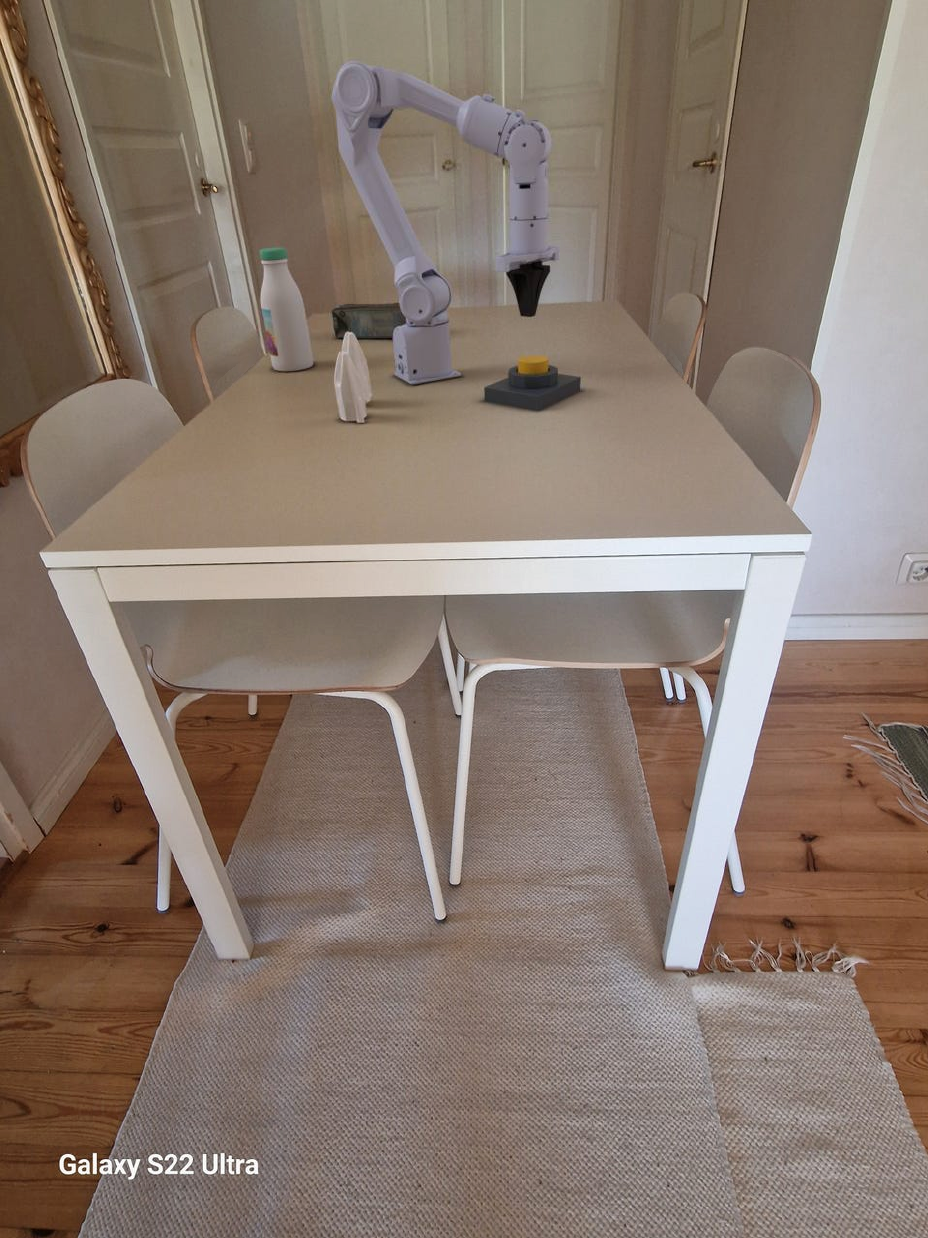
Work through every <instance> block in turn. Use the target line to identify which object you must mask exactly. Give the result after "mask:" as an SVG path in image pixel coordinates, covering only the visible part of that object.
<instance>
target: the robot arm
mask: <svg viewBox="0 0 928 1238" xmlns="http://www.w3.org/2000/svg"><path fill="white" fill-rule="evenodd" d="M330 98H331V102H332V104H333V107H334V109H335V115H336V126H337V127H336V128H337V129H336V131H337V142H338V143H337V144H338V151H339V155H340V156H341V159H342V161H343V163H344V165H345V168H346V169H347V171H348V173H349V175H350V177H351V180H352V181H353V184H354V186H355V188H356V190H357V192H358V194H359V196H360V199H361V200H362V203H363V205H364V207H365V209H366V211H367V213H368V215H369V217H370V220H371V222H372V224H373V226H374V229H375V230H376V232H377V234H378V237H379V239H380V241H381V242H382V245H383V247H384V249H385V251H386V253H387V255H388V257H389V260H390V262H391V263H392V266H393V268H394V278H393V279H394V280H393V282H394V286H395V288H396V291H397V293H398V303H399V304H400V309H401V311H402V313H403V315H404V316H405V317H406V322H407V323H406V324H405V325H403V326H398V327H396V328H395V329H394V331H393V338H392V345H393V356H394V364H395V365H394V368H395V372H394V376H396V377H397V378H399V379H400V380H403V381H404V382H406V383H408V384H410V385H418V384H425V383H429V382H435V381H441V380H447V379H453V378H457V377H461V376H462V373H461V372H459V371H457V370H455V369H453V368H452V367H453V366H452V349H451V347H452V346H451V333H450V331H451V330H450V316H449V314H448V313H447V310H448V308H450V307H449V306H450V305H451V303H452V299H453V292H452V287H451V285H450V282H449V281H448V280H447V279H446V278H445V277H444V276H443V275H441V273H440V272H439V271H438V269H437V268H436V265H435V263H434V261H432V260H431V259H430V258H429V257H428V256H427V255H426V253H424V250H423V248H422V245H421V244H420V242H419V240H418V237H417V235H416V233H415V231H414V228H413V227H412V225H411V222H410V220H409V218H408V216H407V213H406V211H405V209H404V207H403V205H402V203H401V200H400V198H399V196H398V194H397V192H396V189H395V187H394V185H393V183H392V181H391V178H390V176H389V174H388V171H387V170H386V168H385V165H384V163H383V160H382V159H381V156H380V154H379V152H378V146H379V144H380V139H381V137H382V133H383V130H384V128H385V127H386V125H387V123H388V122H389V120H390V119H391V117H392V116H393V114H394V112H395V111H404V110H406V109H409V108H411V109H413V110H416V111H418V112H421V113H423V114H426V115H428V116H430V117H432V118H435V119H438V120H440V121H442V122H445V123H447V124H450V125H452V126H455V127H456V128H457V130H458V132H459V136H460V138H461V140H462V141H463V142H464V143H466V144H468V145H470V146H473V147H474V148H477V149H479V150H482V151H483V152H486V153H488V154H490V155H491V156H492V155H493V156H494V157H497V158H498V159H505V158H506V160H507V163H509V184H508V188H509V190H508V191H509V193H508V194H509V197H508V198H509V199H508V201H509V203H508V204H509V206H508V207H509V251H508V252H507V253H504V254H502V255H499V256H496V257H494V270H495V271H494V272H496V273H505V274H506V276H507V278H508V280H509V282H510V284H511V286H512V289H513V292H514V295H515V298H516V303H517V307H518V311H519V315H520V317H524V318H525V317H526V318H533V317H535V316H536V314H537V310H538V307H539V306H538V305H539V302H540V297H541V293H542V290H543V287H544V285H545V282H546V280H547V278H548V276H549V275H550V273H551V265H549V264H543V263H546V262H552V261H553V262H554V261H555V262H556V261H559V260H560V246H557V245H556V246H552V245H548V221H549V220H548V218H549V217H548V215H549V214H548V213H549V208H548V207H549V181H548V174H549V168H548V167H549V165H548V164H549V163H548V161H547V160H548V159H549V158H550V156H551V153H552V149H553V148H552V147H553V138H552V135H551V133H550V130H549V129H548V128H547V126H546V125H544V124H543V123H542V122H540V120H538V119H526V120H525V114H526V113H525V112H524V111H523V110H521V109H517V110H516V111H513V110H512V109H509V108H506V107H505V106H502V105H500V104H498V103H496V102H495V96H492V95H491V94H489V93H483V96H481V95H478V94H476V95H474V96H471V98H468V99H467V100H465V101H464V100H463V99H460V98H458V97H456V96H454V95H452V94H450V93H448V92H446V91H444V90H442V89H440V88H438V87H436V86H434V85H432V84H430V83H428V82H427V81H424V80H422V79H420V78H418V77H416V76H415V75H412V74H409V73H406V72H401V71H396V70H392V69H388V68H385V67H382V66H378V65H377V66H374V65H368V64H366V63H364V62H362V61H358V60H351V61H348V62H346V63H345V64H343V65H342V66H341V67H340V69H339V70H338V72H337V75H336V78H335V82H334V85H333V89H332V93H331V97H330Z"/></svg>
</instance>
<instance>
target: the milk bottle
mask: <svg viewBox="0 0 928 1238" xmlns="http://www.w3.org/2000/svg"><path fill="white" fill-rule="evenodd" d="M258 254H259V257H260V261H261V265H262V266H263V279H262V284H261V289H260V298H259V299H260V308H261V314H262V320H263V325H264V330H265V336H266V340H267V346H268V351H269V356H270V361H271V366H272V368H273V370H275V371H279V372H296V371H302V370H305V369H308V368H311V367H313V365H314V357H313V350H312V343H311V338H310V331H309V325H308V320H307V315H306V308H305V304H304V300H303V296H302V293H301V291H300V289H299V287H298V285H297V283H296V282H295V280H294V278H293V276H292V274H291V271H290V270H289V265H288V262H289V260H288V255H287V249H286V248H285V247H268V248H262V249H260V250H259V253H258Z"/></svg>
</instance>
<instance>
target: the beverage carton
mask: <svg viewBox="0 0 928 1238" xmlns="http://www.w3.org/2000/svg"><path fill="white" fill-rule="evenodd" d="M330 312H331V313H330V314H331V318H332V327H333V331H334V337H335V338H336V339H344V336H345V333H346V332H352V333H353V334H354V335H355V337H356V339H393V331H394V329H395V328H396V327H398V326H403V325H405V324H406V323H407V322H406V317H405V316H404V315H403V313H402V311H401V309H400V304H399V302H393V303H389V302H388V303H345V304H338V305H336V306H335V307H334V308H333V309H332V310H331V311H330Z"/></svg>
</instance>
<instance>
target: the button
mask: <svg viewBox="0 0 928 1238" xmlns="http://www.w3.org/2000/svg"><path fill="white" fill-rule="evenodd" d="M548 365H549V357H548V356H544V355H537V354H536V355H535V354H533V355H523V356H521V357H519V358H518V359H517V366H518V373H521V374H542V373H546V372H548Z"/></svg>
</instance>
